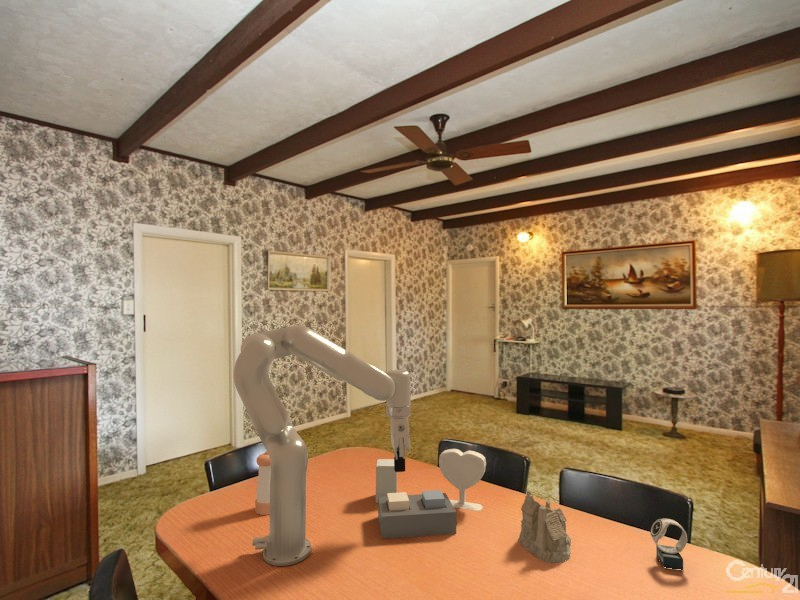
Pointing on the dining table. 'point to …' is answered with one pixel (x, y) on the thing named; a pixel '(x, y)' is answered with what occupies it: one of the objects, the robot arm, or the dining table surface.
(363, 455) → the dining table surface
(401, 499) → the cream key
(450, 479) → the heart sculpture
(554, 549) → the ceramic cottage
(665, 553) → the watch
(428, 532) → the control pad
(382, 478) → the supplement box
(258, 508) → the pepper shaker
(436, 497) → the slate blue key
